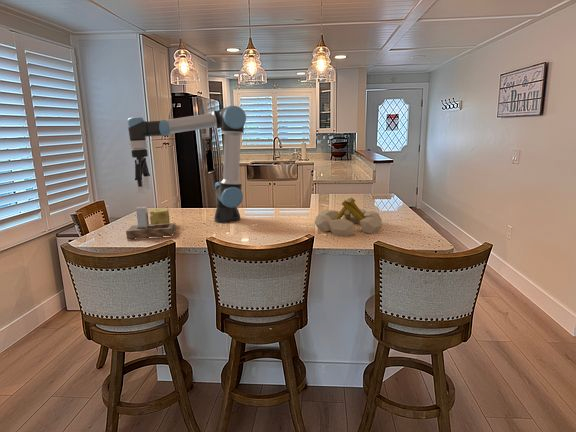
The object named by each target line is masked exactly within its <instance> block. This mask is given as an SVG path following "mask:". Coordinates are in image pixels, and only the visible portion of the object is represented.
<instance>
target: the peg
mask: <svg viewBox="0 0 576 432" xmlns="http://www.w3.org/2000/svg"><path fill="white" fill-rule="evenodd" d="M135 209H136V210H135V211H136V218H137V220H136V221H137V225H138V228H141V229H143V228H147V227H148V226H149V224H150V222H149V221H150V219H149V211H148V206H146V205H145V206H137V207H136V208H135Z"/></svg>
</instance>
